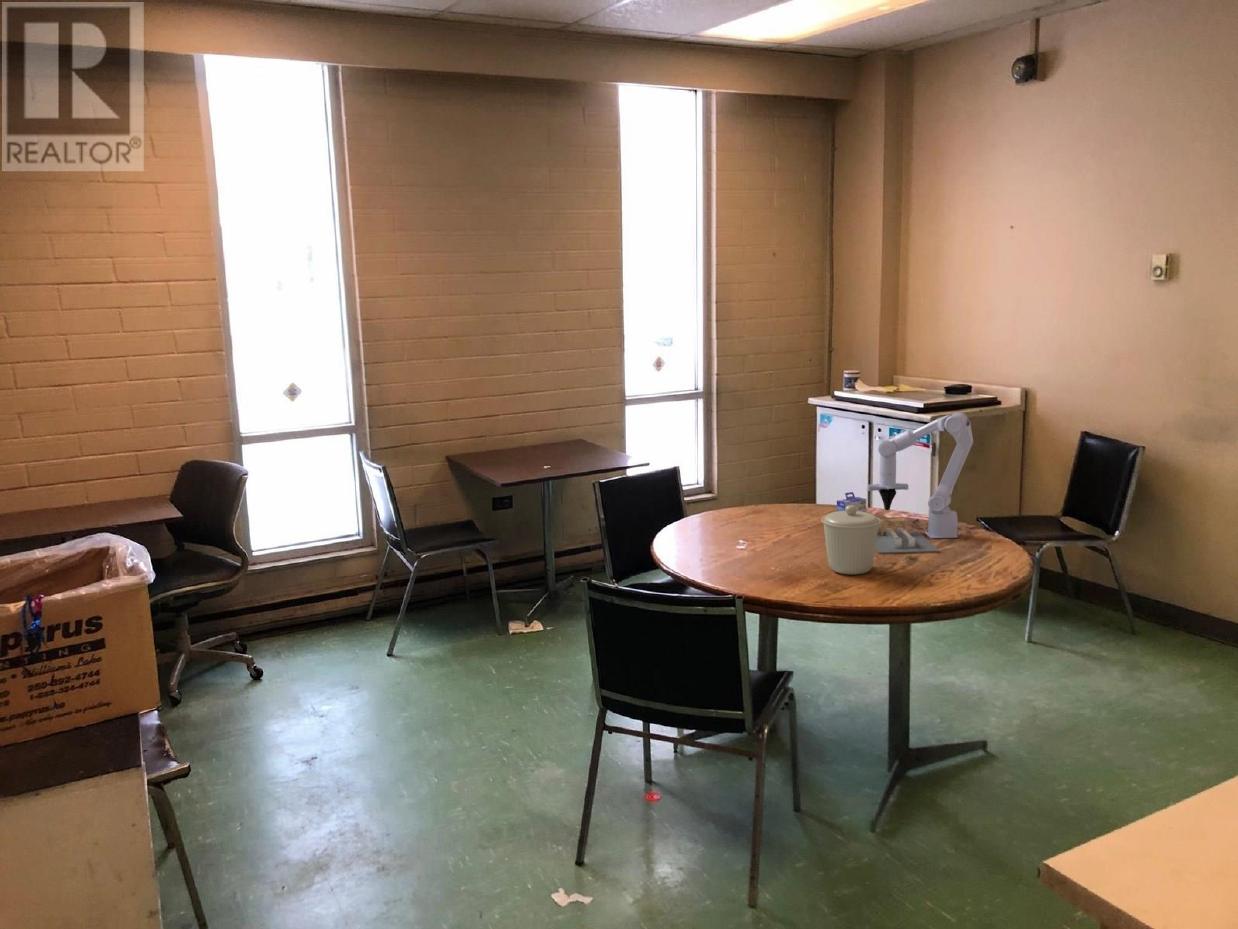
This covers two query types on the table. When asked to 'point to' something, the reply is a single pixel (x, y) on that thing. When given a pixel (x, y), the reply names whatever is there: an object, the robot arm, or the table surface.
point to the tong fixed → (906, 537)
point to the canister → (850, 540)
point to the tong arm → (893, 538)
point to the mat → (920, 544)
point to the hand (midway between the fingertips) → (887, 509)
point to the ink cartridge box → (852, 503)
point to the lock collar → (890, 523)
